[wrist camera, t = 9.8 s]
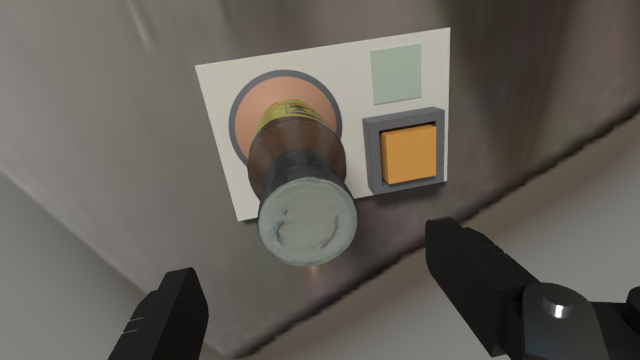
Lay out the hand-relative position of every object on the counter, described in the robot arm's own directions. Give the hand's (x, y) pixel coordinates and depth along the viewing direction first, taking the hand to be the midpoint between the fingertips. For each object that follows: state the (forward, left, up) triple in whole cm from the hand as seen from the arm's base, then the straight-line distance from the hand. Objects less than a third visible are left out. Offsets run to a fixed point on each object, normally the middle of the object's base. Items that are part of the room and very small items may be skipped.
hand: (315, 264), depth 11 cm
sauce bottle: (0, 0, -22) cm, 22 cm away
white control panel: (-5, +1, -23) cm, 23 cm away
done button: (-11, +4, -21) cm, 24 cm away
